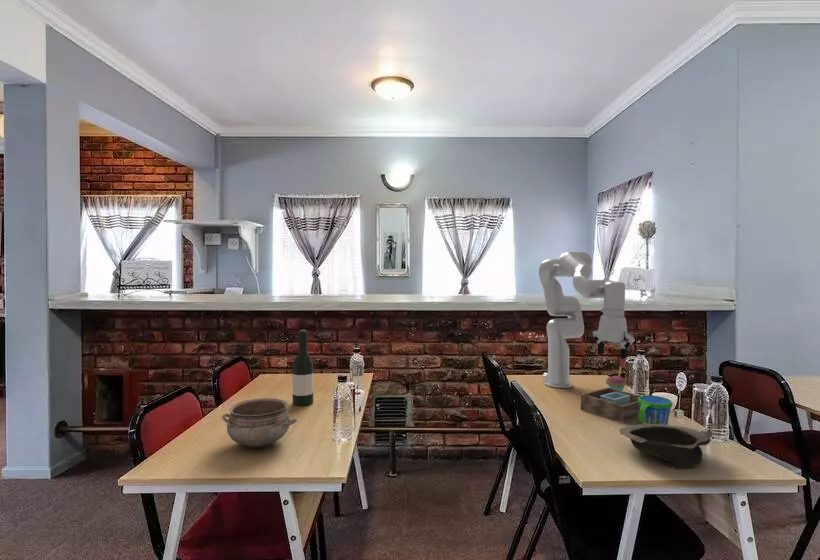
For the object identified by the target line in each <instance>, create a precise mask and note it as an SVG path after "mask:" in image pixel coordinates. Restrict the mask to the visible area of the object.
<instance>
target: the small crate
mask: <svg viewBox="0 0 820 560" xmlns="http://www.w3.org/2000/svg"><path fill="white" fill-rule="evenodd" d="M600 399H602V400H605V401H609V402H613V403H616V404H620V405H626V404H629V403H630V395H626V394H622V393H618V392H612V393H608V394H604V395H600Z"/></svg>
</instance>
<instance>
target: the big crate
mask: <svg viewBox="0 0 820 560" xmlns="http://www.w3.org/2000/svg"><path fill="white" fill-rule="evenodd" d="M612 392H618V393H622V394H626V395H630V403H629V404H626V405H620V404H616V403H613V402H609V401H605V400H602V399H600V395H604V394H608V393H612ZM640 396H641V395H638V394H634V393H631V392H626V391H624V390H623V391H619V390H615V389H611V388H609V387H605V388H602V389H597V390H594V391H590V392H585V393H581V394H580V410H582V411H584V412H588V413H591V414H594V415H597V416H601V417H604V418H607V419H610V420H614V421H617V422H621V423H627V422H630V421H633V420H635V419H638V417H639V412H640V404H639V402H638V397H640Z"/></svg>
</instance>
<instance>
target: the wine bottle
mask: <svg viewBox="0 0 820 560" xmlns="http://www.w3.org/2000/svg"><path fill="white" fill-rule="evenodd" d="M313 403H314V361H313V359H312V358H311V356H310V355H309V353H308V331H307V330H306V329H299V332H298V353H297V355H296V357H295V359H294V361H293V362H292V405H294V406H296V407H307V406H311V405H313Z"/></svg>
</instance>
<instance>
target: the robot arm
mask: <svg viewBox="0 0 820 560" xmlns="http://www.w3.org/2000/svg"><path fill="white" fill-rule="evenodd" d="M592 264H593V258H592V257H591V255H590V254H589V253H588V252H585V251H566V252H563V253H562V254H560V255H559V257H558V258H549V259H545V260H543V261H542V262H541V263H540V265H539V267H538V276H539V281H540V284H541V285H542V289H543V295H544V300H545V306H546V311H547V313H548V314H549V316H553V317H560V318H552V319H550V320H549V321H548V322H547V324H546V328H545V329H546V334H547V341H548V344H547V345H548V347H547V348H548V352H547V353H548V355H547V358H548V361H547V362H548V363H547V364H548V365H547V366H548V367H547V372H544V373H542V375H541V376H542V378H544V379H545V381H544V385H545V386H547V387H551V388H555V389H556V388H557V389H568V388H572V387H573V382H572V381H570V346H569V344H568V343H567V340H566V339H577V338H578V339H579V338H581V337H582V336H583V335H584V332H585V324H584V317H583V312H582V307H581V303H580V301H579V299H578V298H577V297H575V296H572V295H564V294H563V287H562V285H561V284H560V282H559V280H557V279H556V277H557V278H559V277H561V278H562V277H563V278H566V277H572V285H573V288H574V290H575V291H576V292H577V293H578V294H579V295H581V296H582V297H583V298H586V299H603V308H601V310H600V312H601V313H602V315H600V318H599V324H598V329H597V330H594V331H592V335H593V338H594V341H596V344H597V354H598V355H602V354H604V353H605V343H604V342H608V343H613V344H619V346H620V347H621V348H620V352H619V353H620V359H621V360H624V359H627V357H628V349H629V348H630V347H631V346H632V345H633V343H634V342H635V337H633V336H632V335H631V334H629V333H628V325H627V318H626V317H625V305H626V304H625V302H626V284H625V283H624V282H622V281H615V280H610V279H590V277H591V275H592V273H593V269H592ZM561 317H565V318H561ZM627 340H628V341H627Z"/></svg>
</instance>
